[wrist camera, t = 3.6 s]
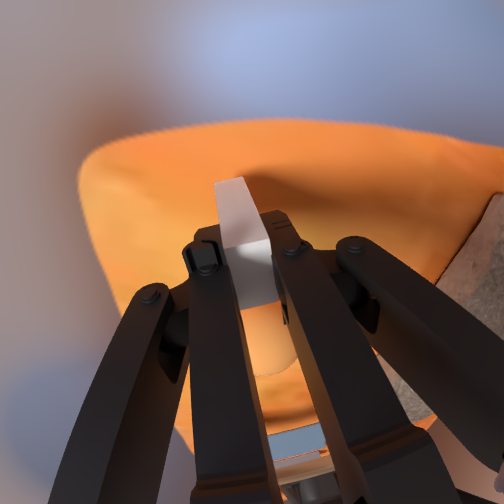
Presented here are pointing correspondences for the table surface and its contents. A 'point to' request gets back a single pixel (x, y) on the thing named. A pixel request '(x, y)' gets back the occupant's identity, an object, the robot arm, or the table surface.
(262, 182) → the table surface
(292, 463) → the wall
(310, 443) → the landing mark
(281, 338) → the ball
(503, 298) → the stone tablet
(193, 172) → the table surface
